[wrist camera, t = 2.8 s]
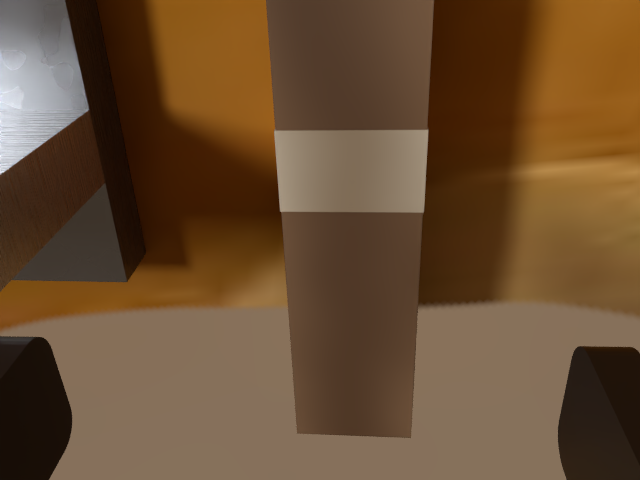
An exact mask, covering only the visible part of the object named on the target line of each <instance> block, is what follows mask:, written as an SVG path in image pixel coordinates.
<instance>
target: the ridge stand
mask: <svg viewBox="0 0 640 480" xmlns="http://www.w3.org/2000/svg"><path fill="white" fill-rule="evenodd" d="M145 254H146V252H145V247H144V242H143V237H142V231H141V226H140V221H139V216H138V211H137V206H136V201H135V196H134V191H133V186H132V181H131V176H130V171H129V166H128V161H127V156H126V150H125V145H124V140H123V135H122V130H121V125H120V120H119V115H118V110H117V105H116V100H115V95H114V90H113V85H112V80H111V75H110V69H109V64H108V59H107V54H106V49H105V44H104V39H103V34H102V29H101V24H100V19H99V14H98V9H97V4H96V0H0V291H1V290H2V289H3V288H4V287H5V286H6V285H7V284H8V283H9V282H10V281H11V280H41V281H97V282H127V281H128V280H129V278H130V277H131V275H132V274H133V272H134V271H135V269H136V268H137V266H138V265H139V263H140V262H141V260H142V259H143V257H144V255H145Z"/></svg>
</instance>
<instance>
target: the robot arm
mask: <svg viewBox="0 0 640 480" xmlns="http://www.w3.org/2000/svg"><path fill="white" fill-rule="evenodd" d="M71 428H72V412H71V407H70V404H69V401H68V398H67V395H66V392H65V389H64V386H63V382H62V379H61V376H60V374H59V370H58V367H57V364H56V361H55V358H54V355H53V352H52V349H51V346H50V345H49V343H48V341H47V340H46V339H44V338H42V337H2V336H0V480H49V478H50V477H51V475H52V473H53V471H54V469H55V468H56V466H57V464H58V462H59V460H60V459H61V457H62V455H63V453H64V451H65V449H66V447H67V444H68V442H69V438H70V434H71ZM558 444H559V452H560V458H561V463H562V467H563V470H564V473H565V476H566V479H567V480H640V353H639V352H638V351H637V350H636V349H635V348H632V347H586V346H580V347H577V348H576V349H575V351H574V353H573V356H572V360H571V365H570V370H569V375H568V380H567V384H566V390H565V395H564V399H563V404H562V409H561V414H560V419H559V426H558Z"/></svg>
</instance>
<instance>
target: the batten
mask: <svg viewBox="0 0 640 480" xmlns="http://www.w3.org/2000/svg"><path fill="white" fill-rule="evenodd" d="M266 5H267V19H268V33H269V47H270V61H271V75H272V89H273V103H274V117H275V130H274V135H275V148H276V162H277V176H278V190H279V203H280V212H281V214H282V228H283V242H284V256H285V270H286V284H287V298H288V312H289V326H290V340H291V353H292V367H293V381H294V395H295V409H296V423H297V433H300V434H301V433H302V434H325V435H326V434H327V435H351V436H377V437H402V438H403V437H404V438H411V426H412V407H413V389H414V370H415V350H416V332H417V313H418V294H419V275H420V256H421V237H422V218H423V213H424V203H425V184H426V166H427V147H428V126H427V123H428V104H429V86H430V67H431V48H432V29H433V10H434V0H266Z"/></svg>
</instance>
